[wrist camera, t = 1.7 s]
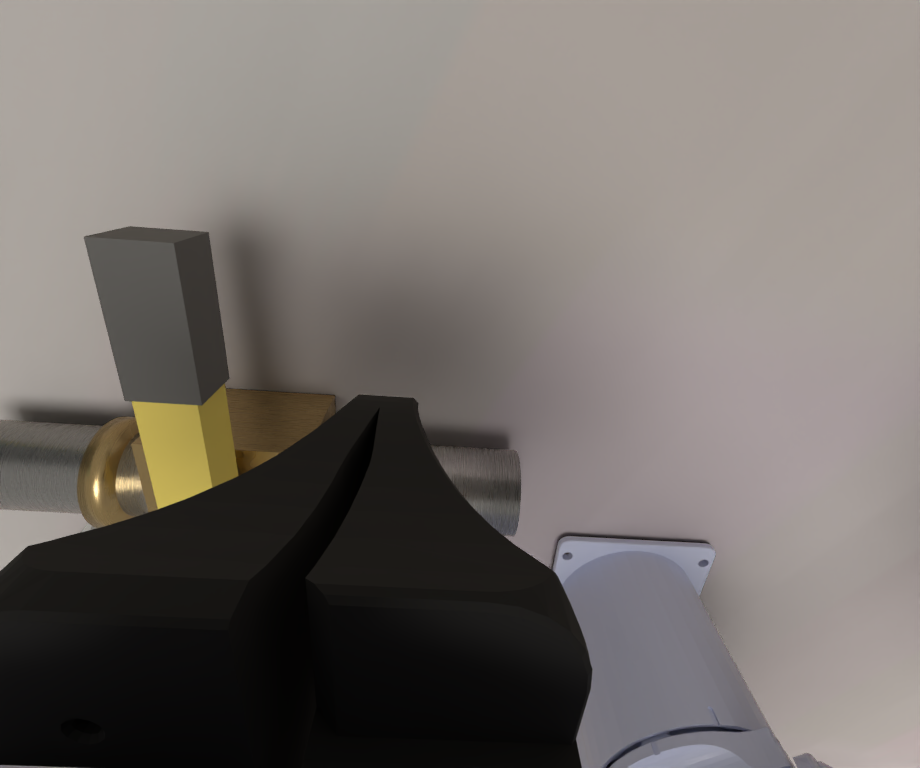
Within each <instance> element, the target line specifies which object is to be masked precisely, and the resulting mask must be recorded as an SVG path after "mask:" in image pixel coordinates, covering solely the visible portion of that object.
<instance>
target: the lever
mask: <svg viewBox="0 0 920 768" xmlns="http://www.w3.org/2000/svg"><path fill="white" fill-rule="evenodd" d="M84 240H85V244H86V248H87V252H88V256H89V260H90V264H91V268H92V272H93V276H94V280H95V284H96V288H97V292H98V296H99V300H100V304H101V308H102V312H103V316H104V320H105V324H106V328H107V332H108V336H109V340H110V344H111V348H112V352H113V356H114V360H115V364H116V368H117V372H118V376H119V380H120V384H121V388H122V392H123V396H124V400H125V401H132V405H133V409H134V413H135V417H136V421H137V425H138V429H139V433H140V437H141V441H142V446H143V450H144V454H145V458H146V462H147V466H148V470H149V474H150V478H151V482H152V487H153V491H154V495H155V499H156V503H157V507H158V509H160V508H163V507H166V506H168V505H171V504H174V503H176V502H179V501H182V500H184V499H187V498H190V497H192V496H194V495H197V494H199V493H201V492H203V491H206V490H208V489H210V488H213V487H215V486H217V485H219V484H222V483H224V482H226V481H229V480H231V479H233V478H235V477H237V476H238V470H237V463H236V456H235V450H234V443H233V436H232V429H231V423H230V416H229V409H228V403H227V396H226V389H225V382H226V381H227V380H228V379H230V378H229V371H228V364H227V357H226V350H225V343H224V336H223V330H222V323H221V316H220V309H219V302H218V295H217V288H216V281H215V274H214V267H213V260H212V253H211V246H210V239H209V232H199V231H186V230H172V229H158V228H145V227H131V226H130V227H125V228H121V229H116V230H112V231H107V232H103V233H98V234H94V235H89V236H85V237H84Z"/></svg>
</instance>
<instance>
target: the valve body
mask: <svg viewBox="0 0 920 768" xmlns="http://www.w3.org/2000/svg"><path fill="white" fill-rule="evenodd" d="M226 396H227V403H228V409H229V416H230V423H231V429H232V436H233V443H234V450H235V456H236V463H237V470H238V476H239V475H241V474H243V473H245V472H247V471H249V470H251V469H253V468H255V467H256V466H258V465H260V464H262V463H264V462H266V461H267V460H269V459H271V458H273V457H274V456H276V455H278V454H279V453H281V452H283V451H284V450H286V449H287V448H288V447H290V446H291V445H293V444H294V443H296V442H297V441H299V440H300V439H302V438H303V437H305V436H306V435H308V434H309V433H311V432H312V431H314V430H315V429H316V428H318V427H319V426H320V425H321V424H323V423H324V422H325V421H327V420H328V419H329V418H331V417H332V416H333V415H334V414H336V410H335V395H321V394H305V393H289V392H273V391H257V390H240V389H226ZM431 447H432V449H433V451H434V453H435V455H436V457H437V459H438V460H439V462H440V464H441V466H442V467H443V469H444V470H445V472H446V474H447V475H448V477H449V478H450V479H451V481H452V482H453V484H454V485H455V486H456V488H457V489H458V490H459V492H460V493H461V494H462V495H463V496H464V498H465V499H466V500H467V501H468V502H469V504H470V505H471V506H472V507H473V508H474V509H475V510H476V511H477V512H478V513H479V514H480V515H481V516H482V517H483V518H484V519H485V520H486V521H487V522H488V523H489V524H490V525H491V526H492V527H493V528H495V529H496V530H497V531H498V532H499V533H501V534H502V535H503V536H514V535H515V533H516V530H517V526H518V521H519V513H520V500H521V472H520V461H519V456H518V453H517V451H516V450H503V449H486V448H469V447H452V446H435V445H431ZM0 509H3V510H22V511H41V512H60V513H78V514H82V515H83V516H84V518H85V520H86V521H87V522H88V523H89V524H90V525H92V526H93V527H95V528H100V527H104V526H107V525H111V524H114V523H117V522H121V521H124V520H127V519H130V518H133V517H136V516H139V515H142V514H145V513H148V512H151V511H154V510H157V509H158V507H157V503H156V499H155V495H154V491H153V487H152V482H151V478H150V474H149V470H148V466H147V462H146V458H145V454H144V450H143V446H142V441H141V437H140V433H139V429H138V425H137V421H136V417H126V416H125V417H118V418H115V419H113V420H111V421H109V422H108V423H106V424H105V425H104V426H96V425H79V424H62V423H45V422H28V421H11V420H0Z"/></svg>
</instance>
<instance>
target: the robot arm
mask: <svg viewBox="0 0 920 768" xmlns="http://www.w3.org/2000/svg"><path fill="white" fill-rule="evenodd" d="M567 552H569V554H564V553H567ZM715 556H716V552H715V550H714V548H713V547H712V546H711V545H710V544H706V543H689V542H670V541H651V540H632V539H614V538H595V537H576V536H566V537H563V538H561V539H560V540H559V542H558V545H557V550H556V555H555V560H554V565H553V569H552V570H551V569H550V568H548V567H547V566H545V565H544V564H542V563H541V562H539V561H538V560H536V559H535V558H533V557H532V556H530V555H529V554H527V553H526V552H524V551H523V550H521V549H520V548H518V547H517V546H516V545H514V544H513V543H512V542H510V541H509V540H508V539H507V538H505V537H504V536H503V535H502V534H501V533H499V532H498V531H497V530H496V529H495V528H493V527H492V526H491V525H490V524H489V523H488V522H487V521H486V520H485V519H484V518H483V517H482V516H481V515H480V514H479V513H478V512H477V511H476V510H475V509H474V508H473V507H472V506H471V505H470V504H469V502H468V501H467V500H466V499H465V498H464V496H463V495H462V494H461V493H460V492H459V490H458V489H457V488H456V486H455V485H454V484H453V482H452V481H451V479H450V478H449V477H448V475H447V474H446V472H445V470H444V469H443V467H442V466H441V464H440V462H439V460H438V459H437V457H436V455H435V453H434V451H433V449H432V447H431V445H430V443H429V441H428V439H427V436H426V434H425V432H424V429H423V427H422V424H421V420H420V417H419V413H418V402H417V401H416V400H415V399H414V398H403V397H387V396H370V395H358V396H357V397H355V398H354V399H353V400H352V401H350V402H349V403H348V404H347V405H345V406H344V407H343V408H342V409H341V410H339V411H338V412H337V413H336V414H334V415H333V416H332V417H331V418H329V419H328V420H327V421H325V422H324V423H323V424H321V425H320V426H319V427H318V428H316V429H315V430H314V431H312V432H311V433H309V434H308V435H306V436H305V437H303V438H302V439H300V440H299V441H297V442H296V443H294V444H293V445H291V446H290V447H288V448H287V449H286V450H284V451H283V452H281V453H279V454H278V455H276V456H274V457H273V458H271V459H269V460H267V461H266V462H264V463H262V464H260V465H258V466H256V467H255V468H253V469H251V470H249V471H247V472H245V473H243V474H241V475H239V476H237V477H235V478H233V479H231V480H229V481H226V482H224V483H222V484H219V485H217V486H215V487H213V488H210V489H208V490H206V491H203V492H201V493H199V494H197V495H194V496H192V497H190V498H187V499H184V500H182V501H179V502H176V503H174V504H171V505H168V506H166V507H163V508H160V509H157V510H154V511H151V512H148V513H145V514H142V515H139V516H136V517H133V518H130V519H127V520H124V521H121V522H117V523H114V524H111V525H107V526H104V527H100V528H96V529H92V530H89V531H85V532H81V533H77V534H74V535H70V536H66V537H63V538H59V539H55V540H51V541H48V542H44V543H39V544H35V545H31V546H28V547H26V548H25V549H24V550H23V551H22V552H21V553H20V554H19V555H17V556H16V557H15V558H14V559H13V560H12V561H11V562H10V563H9V564H8V565H7V566H5V567H4V568H3V569H2V570H1V571H0V768H795V766H794V765H793V763H792V761H791V760H790V758H789V757H788V755H787V754H786V752H785V751H784V749H783V747H782V746H781V744H780V743H779V741H778V740H777V738H776V737H775V735H774V733H773V732H772V730H771V728H770V726H769V724H768V723H767V721H766V719H765V717H764V715H763V713H762V712H761V710H760V708H759V706H758V704H757V702H756V701H755V699H754V697H753V695H752V693H751V691H750V690H749V688H748V686H747V684H746V682H745V680H744V679H743V677H742V675H741V673H740V671H739V669H738V668H737V666H736V664H735V662H734V660H733V658H732V656H731V655H730V653H729V651H728V649H727V647H726V645H725V644H724V642H723V640H722V638H721V636H720V634H719V633H718V631H717V629H716V627H715V625H714V623H713V622H712V620H711V618H710V616H709V614H708V612H707V611H706V609H705V607H704V605H703V603H702V601H701V600H700V598H699V596H700V594H701V591H702V589H703V586H704V584H705V581H706V578H707V576H708V573H709V571H710V568H711V566H712V563H713V561H714V558H715ZM701 560H702V561H701ZM793 759H794V761H795V763H796V765H797V767H798V768H832V767H830V766H828V765H827V764H825V763H823V762H817V761H816V759H815V758H814V757H813V756H812V755H811V754H809V753H804V754H803V755H800V756H797V757H794V758H793Z"/></svg>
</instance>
